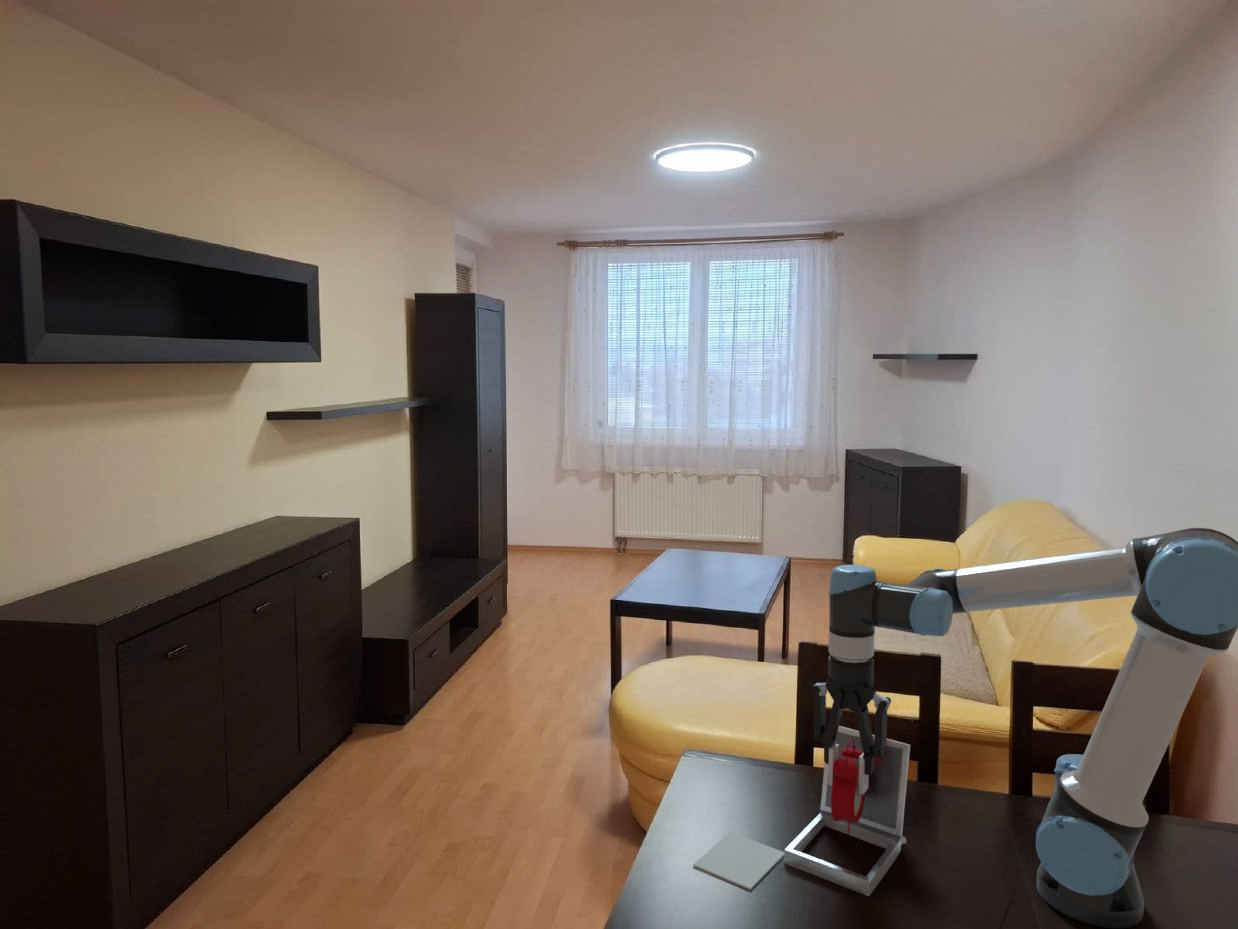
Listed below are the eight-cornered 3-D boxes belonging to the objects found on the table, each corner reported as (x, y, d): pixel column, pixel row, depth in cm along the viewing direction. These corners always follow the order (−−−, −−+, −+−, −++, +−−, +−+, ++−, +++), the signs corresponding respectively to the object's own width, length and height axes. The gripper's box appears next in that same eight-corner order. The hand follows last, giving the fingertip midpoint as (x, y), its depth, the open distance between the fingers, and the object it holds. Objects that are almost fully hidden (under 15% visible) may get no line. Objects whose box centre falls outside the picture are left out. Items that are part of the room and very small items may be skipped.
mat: (785, 854, 143) (785, 852, 143) (750, 890, 133) (750, 888, 133) (730, 834, 150) (730, 831, 150) (693, 866, 139) (693, 864, 139)
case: (900, 852, 145) (901, 836, 144) (869, 896, 132) (869, 879, 132) (820, 824, 154) (821, 809, 153) (784, 863, 141) (784, 847, 140)
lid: (899, 836, 144) (902, 835, 145) (908, 746, 144) (910, 744, 145) (819, 809, 152) (822, 808, 153) (827, 724, 153) (830, 723, 154)
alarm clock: (849, 843, 137) (872, 765, 134) (814, 826, 140) (835, 749, 137) (863, 815, 146) (885, 741, 143) (830, 799, 149) (850, 726, 146)
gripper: (910, 660, 137) (906, 793, 139) (811, 641, 147) (809, 765, 149) (895, 672, 131) (892, 811, 133) (793, 651, 142) (791, 780, 143)
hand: (848, 786), depth 141 cm, fingers closed on alarm clock, 5 cm apart
